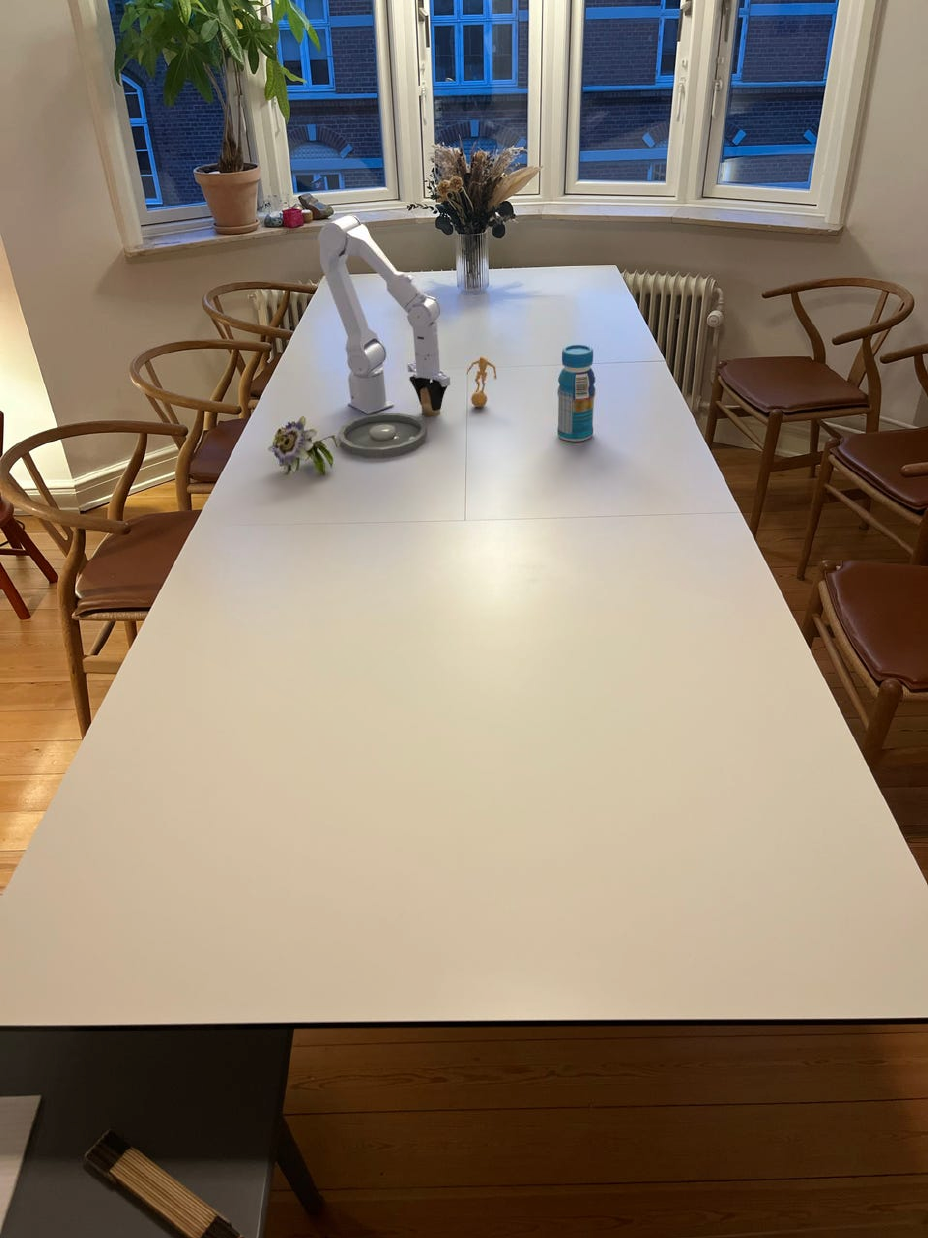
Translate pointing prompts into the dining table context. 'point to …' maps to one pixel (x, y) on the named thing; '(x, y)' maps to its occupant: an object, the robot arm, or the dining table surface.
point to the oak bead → (427, 404)
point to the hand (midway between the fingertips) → (430, 406)
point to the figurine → (479, 396)
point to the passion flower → (299, 447)
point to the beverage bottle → (576, 394)
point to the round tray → (387, 448)
